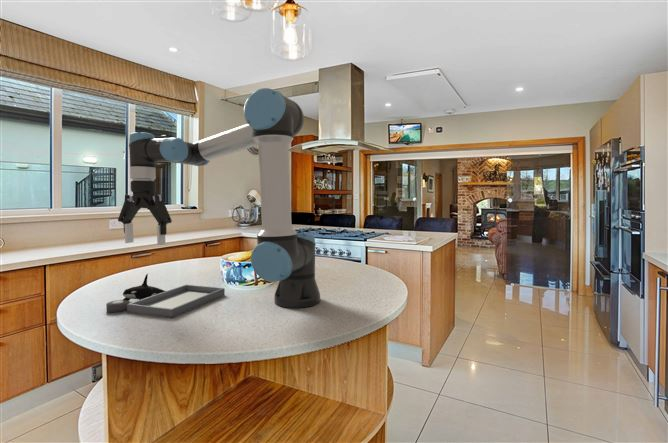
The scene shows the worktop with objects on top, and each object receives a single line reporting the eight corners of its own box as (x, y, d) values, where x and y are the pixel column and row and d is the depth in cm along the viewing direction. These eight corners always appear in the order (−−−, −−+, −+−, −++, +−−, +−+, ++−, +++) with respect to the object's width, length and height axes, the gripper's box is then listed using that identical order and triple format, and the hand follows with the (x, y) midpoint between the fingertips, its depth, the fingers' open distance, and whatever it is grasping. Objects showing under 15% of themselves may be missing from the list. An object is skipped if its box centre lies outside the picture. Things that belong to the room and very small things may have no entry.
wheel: (134, 308, 112) (133, 300, 112) (117, 314, 106) (116, 305, 106) (119, 306, 114) (118, 298, 114) (101, 312, 108) (101, 303, 108)
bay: (224, 295, 127) (224, 288, 127) (171, 318, 103) (171, 309, 103) (186, 291, 132) (185, 284, 132) (127, 312, 108) (126, 304, 108)
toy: (135, 305, 111) (139, 273, 113) (107, 303, 113) (112, 271, 115) (177, 302, 131) (180, 275, 133) (153, 301, 133) (157, 273, 135)
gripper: (182, 180, 120) (183, 244, 122) (123, 180, 128) (125, 240, 129) (165, 179, 113) (166, 246, 114) (104, 180, 120) (106, 243, 122)
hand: (145, 243), depth 122 cm, fingers open, 13 cm apart
